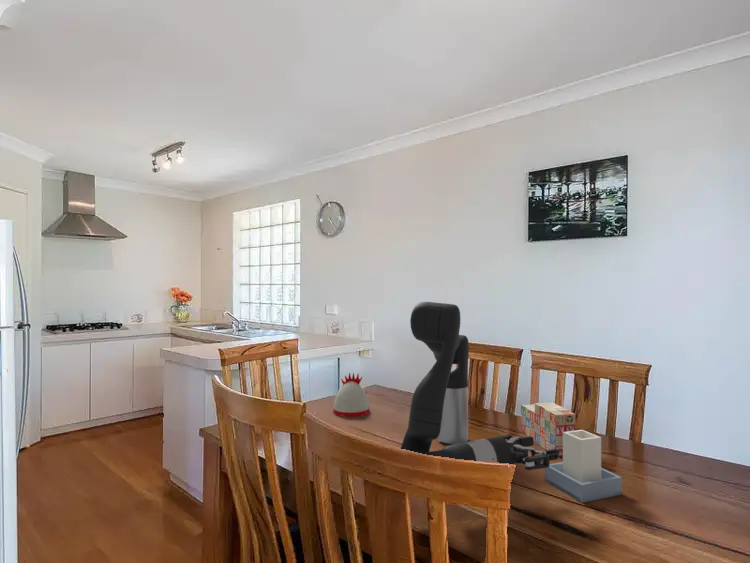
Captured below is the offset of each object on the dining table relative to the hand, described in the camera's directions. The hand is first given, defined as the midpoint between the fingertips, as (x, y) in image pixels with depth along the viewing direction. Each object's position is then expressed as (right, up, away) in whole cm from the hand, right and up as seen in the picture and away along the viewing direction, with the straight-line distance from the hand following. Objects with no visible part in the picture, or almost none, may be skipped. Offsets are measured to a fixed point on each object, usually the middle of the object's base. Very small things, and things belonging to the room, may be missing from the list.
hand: (544, 447), depth 105 cm
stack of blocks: (+13, -12, +34) cm, 38 cm away
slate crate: (+10, -11, +3) cm, 16 cm away
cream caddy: (+10, -10, +3) cm, 15 cm away
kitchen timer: (-49, -12, +68) cm, 85 cm away
